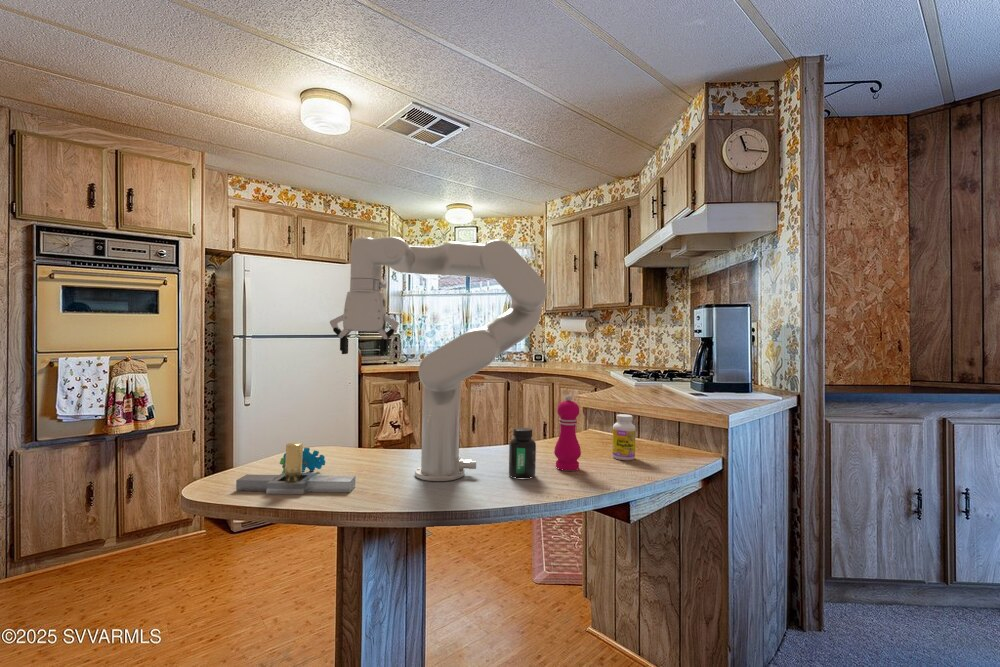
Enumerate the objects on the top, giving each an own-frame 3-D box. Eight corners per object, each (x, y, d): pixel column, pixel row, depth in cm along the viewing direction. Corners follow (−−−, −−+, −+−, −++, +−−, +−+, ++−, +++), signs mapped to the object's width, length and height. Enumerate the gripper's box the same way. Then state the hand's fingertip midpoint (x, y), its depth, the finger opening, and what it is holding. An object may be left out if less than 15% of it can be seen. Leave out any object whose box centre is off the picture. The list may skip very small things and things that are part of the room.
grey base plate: (357, 483, 111) (357, 473, 111) (347, 495, 103) (347, 484, 103) (250, 482, 110) (250, 472, 110) (231, 493, 102) (231, 482, 102)
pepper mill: (584, 467, 130) (586, 394, 130) (574, 473, 123) (575, 397, 124) (560, 463, 133) (562, 392, 134) (549, 468, 127) (550, 395, 128)
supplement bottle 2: (612, 460, 138) (613, 416, 138) (611, 454, 145) (612, 413, 145) (636, 461, 137) (637, 417, 137) (633, 456, 144) (634, 414, 144)
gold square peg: (303, 486, 108) (305, 442, 108) (297, 491, 105) (299, 446, 105) (288, 485, 108) (290, 442, 108) (281, 490, 105) (283, 445, 105)
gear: (332, 464, 121) (316, 442, 115) (326, 485, 117) (309, 464, 110) (292, 468, 122) (273, 447, 116) (284, 489, 118) (265, 468, 111)
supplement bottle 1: (524, 481, 115) (525, 432, 116) (503, 475, 120) (504, 428, 120) (540, 476, 120) (541, 429, 121) (519, 470, 125) (520, 425, 125)
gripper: (402, 289, 124) (400, 354, 124) (336, 288, 123) (334, 353, 123) (396, 286, 116) (395, 355, 116) (326, 284, 116) (324, 354, 116)
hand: (363, 354), depth 120 cm, fingers open, 9 cm apart
